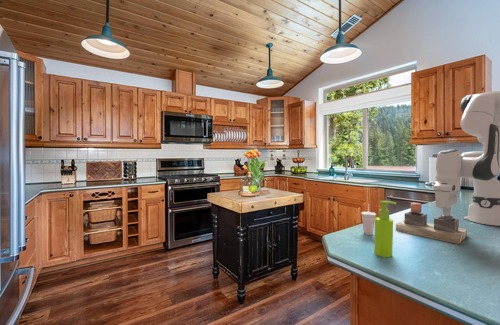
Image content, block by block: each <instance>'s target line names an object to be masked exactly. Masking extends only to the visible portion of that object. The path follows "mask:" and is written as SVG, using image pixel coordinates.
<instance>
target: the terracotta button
mask: <svg viewBox="0 0 500 325" xmlns="http://www.w3.org/2000/svg"><path fill="white" fill-rule="evenodd" d="M422 207H423V205H422V203H419V202H410V211H411V212H415V213H422Z"/></svg>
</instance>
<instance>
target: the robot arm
mask: <svg viewBox="0 0 500 325" xmlns="http://www.w3.org/2000/svg"><path fill="white" fill-rule="evenodd" d="M460 111H461V113H462V116H461V119H460V123H459V124H460V125H459V126H460V128H461V130H462V131H463V132H465V133H466V134H467V135H469V136H472V137H474V138H475V137H476V138H477V141H478V143H479V144H480V143H481V144H482V145H483V146H482V150H473V151H466V152H465V151H464V152H462V153H461V151H460V149H454V148H449V149H441V150H440V151H439V152H438V153H437V156H436V164H435V171H436V175H435V183H434V185H433V190H434V191H435V193H434V197H435V198H434V199H435V200H434V201H435V207H436V208H438V209H442V211H443V215H444V216H449V215H451V210H452V206H454V205H456V204H458V191H461V181H462V178H463V179H472V181H473V195H472V197H471V198H472V203H471V204H469V205H468V212H467V215H466V216H464V217H463V219H464V220H468V221H470V222H474V223H477V224H482V225H488V226H489V225H490V226H500V180H499V179H497V178H496V177H497V176H498V175H499V172H500V91H499V90H498V91H497V90H495V91H487V92H480V93H475V94H474V93H471V94H467V95H465V96H464V97H462V99H461V101H460Z"/></svg>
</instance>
